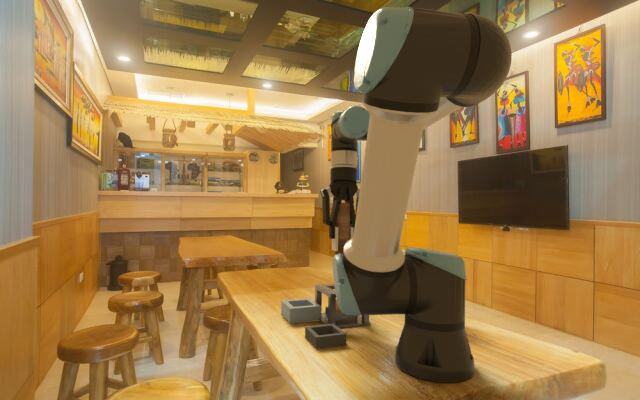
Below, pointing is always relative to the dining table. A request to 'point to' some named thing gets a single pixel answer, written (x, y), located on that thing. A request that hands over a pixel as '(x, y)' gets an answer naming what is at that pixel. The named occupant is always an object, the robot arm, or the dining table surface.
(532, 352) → the dining table surface
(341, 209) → the bar
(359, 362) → the dining table surface
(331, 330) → the stand
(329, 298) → the guard frame
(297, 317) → the grey square holder
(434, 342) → the robot arm
